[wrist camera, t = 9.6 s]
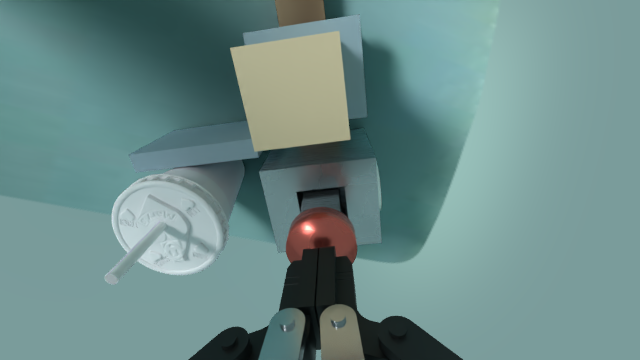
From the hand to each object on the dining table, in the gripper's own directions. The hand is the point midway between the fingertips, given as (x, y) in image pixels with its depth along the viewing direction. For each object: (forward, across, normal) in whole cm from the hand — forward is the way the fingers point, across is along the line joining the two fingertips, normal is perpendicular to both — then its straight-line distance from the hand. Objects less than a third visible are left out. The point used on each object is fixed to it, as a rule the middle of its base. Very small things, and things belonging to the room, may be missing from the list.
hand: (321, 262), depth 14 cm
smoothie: (+12, +9, -1) cm, 15 cm away
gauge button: (+8, 0, 0) cm, 8 cm away
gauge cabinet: (+12, 0, 0) cm, 12 cm away
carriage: (+12, +4, -7) cm, 14 cm away
